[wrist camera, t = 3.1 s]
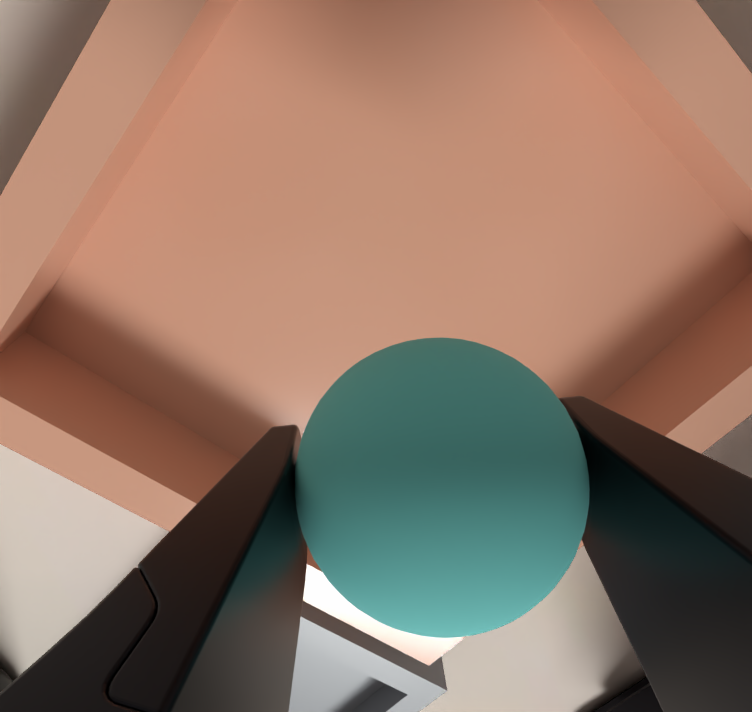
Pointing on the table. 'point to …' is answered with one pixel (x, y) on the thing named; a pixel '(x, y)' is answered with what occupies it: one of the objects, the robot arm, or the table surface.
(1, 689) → the supplement bottle
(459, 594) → the ball
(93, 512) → the table surface
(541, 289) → the dish
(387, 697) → the tray
